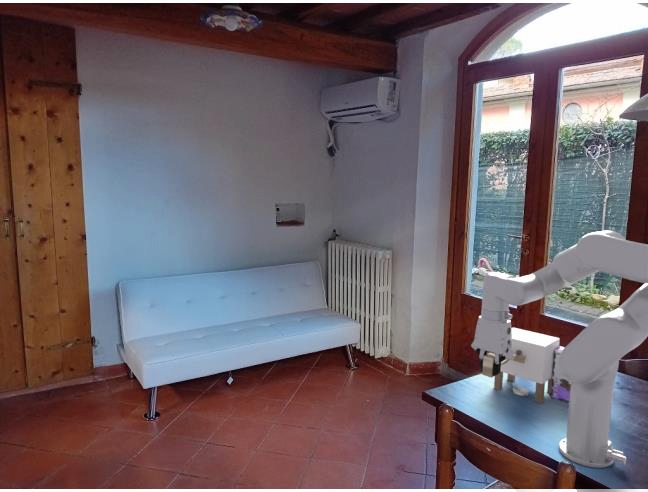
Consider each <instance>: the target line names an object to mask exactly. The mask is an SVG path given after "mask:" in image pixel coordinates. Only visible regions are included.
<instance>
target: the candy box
mask: <svg viewBox="0 0 648 492" xmlns="http://www.w3.org/2000/svg"><path fill="white" fill-rule="evenodd" d="M565 347H566V346H565ZM565 347H564V346H561V345H559V348H557V349H556V350H555V355H554V367H553V378H552V391H551V393H550V397H551V398H552V399H555V400H560V401H563V402H566V403H569V400H570V389H571V381H570V380H568V379H567V378H565V377H564V375H563V374H562V373H561V371H560V368H559V356H560V354H561V352H562V350H563V349H564V348H565Z"/></svg>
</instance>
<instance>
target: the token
mask: <svg viewBox="0 0 648 492" xmlns="http://www.w3.org/2000/svg"><path fill="white" fill-rule="evenodd" d="M512 392H513V394H514V395H515V396H520V397H527V396H529V394H530V393H529V392H530V391H529V389H528V388H525V387H520V386H515V387H513V388H512Z"/></svg>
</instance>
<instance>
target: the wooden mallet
mask: <svg viewBox="0 0 648 492" xmlns="http://www.w3.org/2000/svg"><path fill="white" fill-rule="evenodd" d="M506 355H507V354H506ZM513 356H514V357H513V358H511V359H507V360H504V361H502V362H501V366H502V365H504V364H505V363H507V362H509V361H511V360H513V361H517V362H520V363H525V356H521V355H518V354H515V353H513ZM494 363H495V353H492V352H488V354H486V355H484V357H483V370H482V372H481V373H482V374H481V376H486V377H488V378H492V379H493V378H495V376H493V375H492V373H493V364H494Z"/></svg>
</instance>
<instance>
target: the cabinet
mask: <svg viewBox="0 0 648 492" xmlns="http://www.w3.org/2000/svg"><path fill="white" fill-rule="evenodd" d="M511 328H512V349H511V351H512V353H515V354H518V355H521V356H525V363H520V362H517V361H513V360H511V361H509V362H507V363H505V364H504V365H502V366H501V370H500V373H499V374H498V375H496V376H494V379H493V380H494V381H493V382H494V383H493V388H494V387H495V388H494V389H496V388H498V389H497V390H499V389H500V390H502V389H503V383H504V382H503V381H504V373H505V374H507V381H511V382H514V381H515V380H516V377H518V378H521V379H525V380H527V381H531V382H533V383H535V394H534V402H536V403H539V404H543V402H544V399H545V384H546V382H547V390H546V393H549V394H551V391H552V378H553V367H554V355H555V350H556V349H557V348H559V347H560V337H557V336H552V335H547V334H544V333H539V332H534V331H530V330H525V329H522V328H517V327H511ZM504 355H506V353H505V354H504ZM504 355H503V356H504Z"/></svg>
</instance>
